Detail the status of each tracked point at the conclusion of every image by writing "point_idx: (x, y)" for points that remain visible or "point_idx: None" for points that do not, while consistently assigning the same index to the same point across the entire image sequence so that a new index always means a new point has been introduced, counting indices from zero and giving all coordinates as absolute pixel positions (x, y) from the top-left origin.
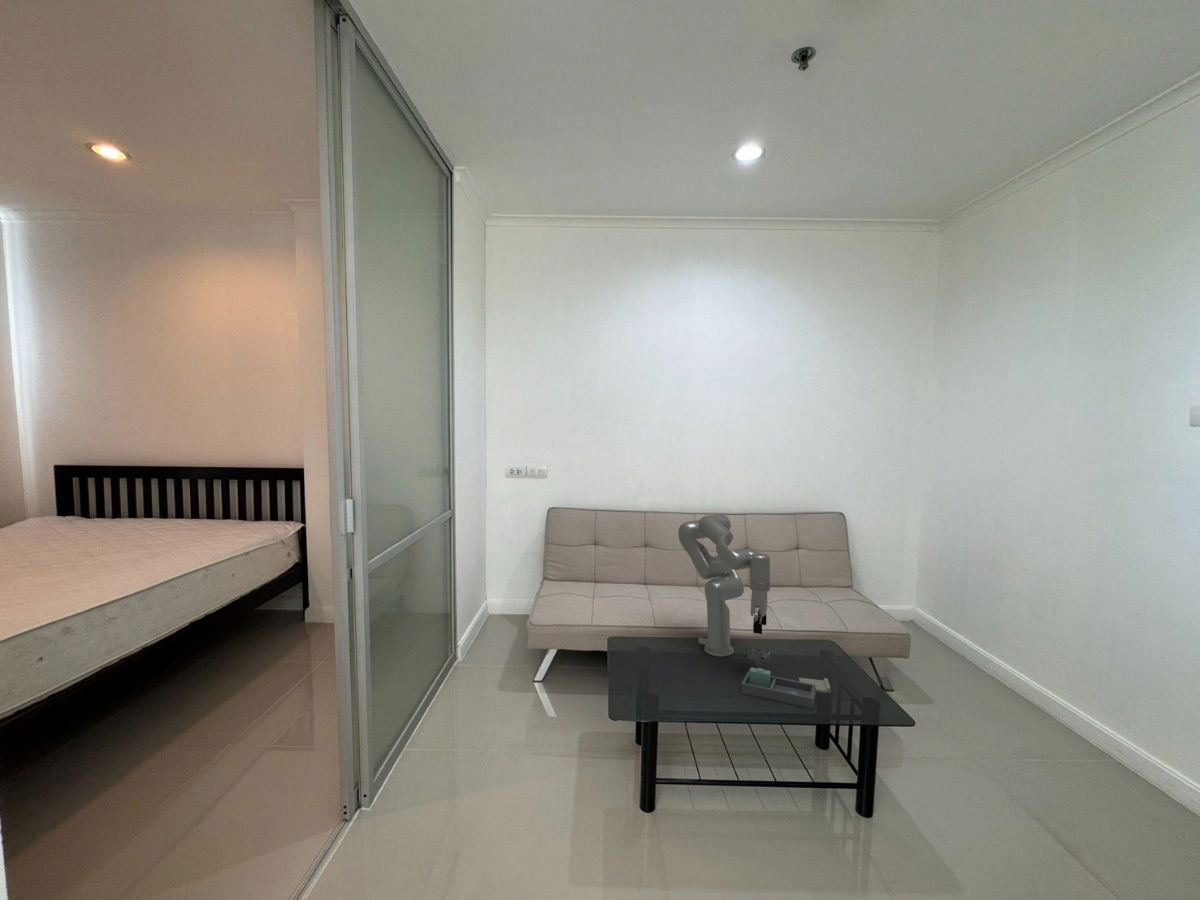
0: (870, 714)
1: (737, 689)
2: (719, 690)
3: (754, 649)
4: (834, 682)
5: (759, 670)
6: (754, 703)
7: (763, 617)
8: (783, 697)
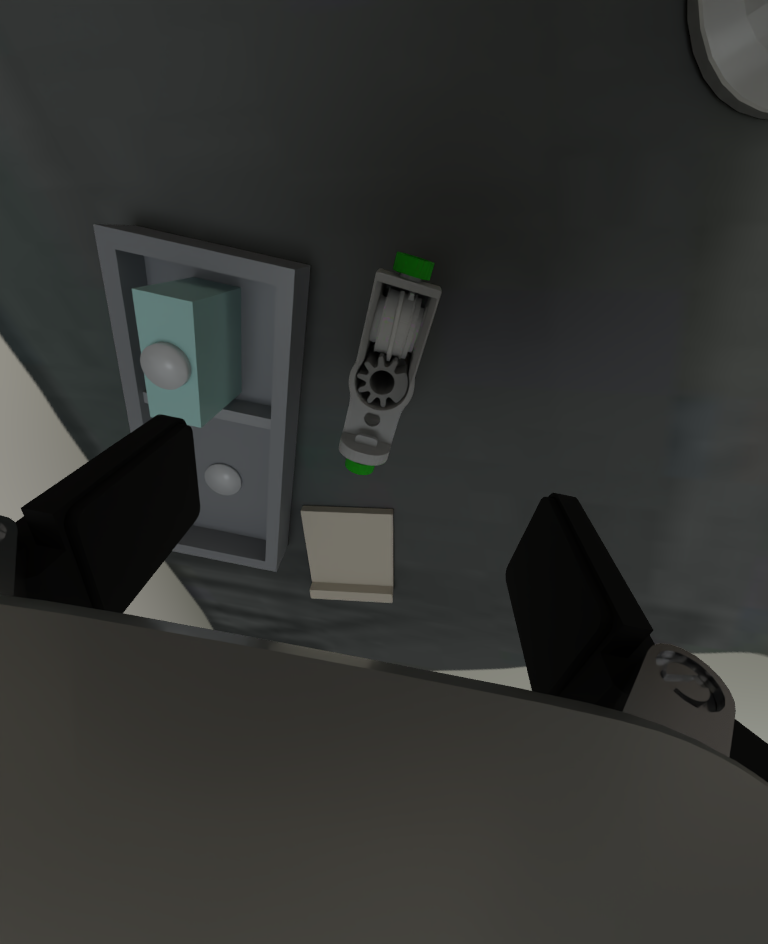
0: None
1: (164, 193)
2: (79, 40)
3: (389, 344)
4: (404, 606)
5: (145, 363)
6: (73, 302)
7: (542, 649)
8: None
